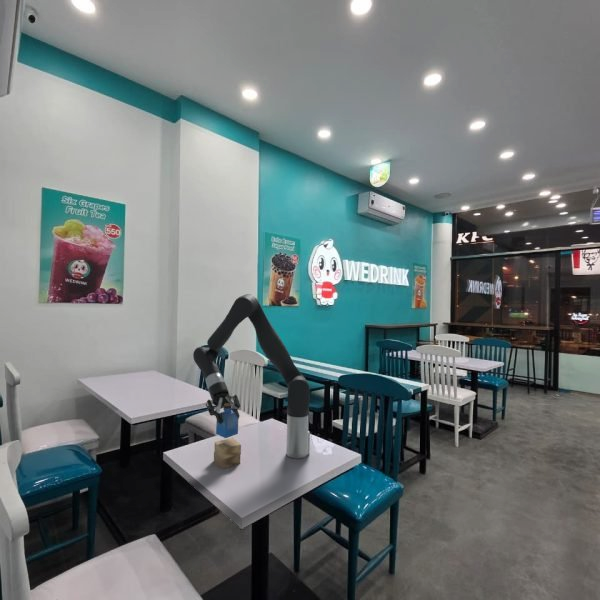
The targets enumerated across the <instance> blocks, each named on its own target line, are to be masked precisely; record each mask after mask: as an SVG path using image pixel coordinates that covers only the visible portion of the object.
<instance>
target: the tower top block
mask: <svg viewBox="0 0 600 600" xmlns="http://www.w3.org/2000/svg"><path fill="white" fill-rule="evenodd" d="M214 452H215V453H216V454H217V455H218V456H219V457H220V458H221V459H226V458H229V457H233V456H237V455H240V456H241V454H242V444H241V443H240V442H238V440H236V439H235V438H234V437H229V438H225V439H222V440H217V441H214V451H213V453H214Z"/></svg>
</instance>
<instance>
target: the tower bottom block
mask: <svg viewBox="0 0 600 600" xmlns="http://www.w3.org/2000/svg"><path fill="white" fill-rule="evenodd" d="M213 462H214V463H215V464H216V465H217V466H218V467H219V468H220V469H221V470H224V469H227V468H231V467H233V465H234V466H237V465H240V464H241V455H237V456H233V457H229V458H226V459H221V458H220V457H219V456H218V455H217V454H216V453H215V452H214V451H213ZM236 464H237V465H236ZM226 467H227V468H226Z"/></svg>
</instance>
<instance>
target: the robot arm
mask: <svg viewBox="0 0 600 600" xmlns="http://www.w3.org/2000/svg"><path fill="white" fill-rule="evenodd" d="M247 318H248V320H249V321H250V323H251V324H252V326H253V328H254V330H255V334H256V339H257V342H258V345H259V347H260V349H261V351H262V352H263V353H264V355H265V357H266V358H267V359H268V361H269V362H270V363H271V364H272V365H273V367H275V369H276V370H277V371H278V372H279V373H280V375H281V377H282V378H283V380H284V383H285V384H286V387H287V407H286V408H287V409H286V411H287V412H286V414H287V415H286V416H287V417H286V452H285V453H286V456H287V457H288V458H290V459H303V458H306V457H307V456H308V455H310V454H311V453H310V449H311V446H310V445H311V443H310V442H311V432H310V431H309V414H310V413H309V410H310V397H311V396H310V392H311V391H310V390H311V389H310V385H309V382H308V380H307V379H306V378H305V376H304V375H303V373H302V372H301V371H300V370H299V369H298V368H297V366H296V364H295V363H294V362H293V359H292V358H291V355H290V353H289V351H288V349H287V347H286V345H285V344H284V342H283V341H282V339H281V338H280V336H279V334H278V333H277V331H276V330H275V328H274V327H273V325H272V324H271V321H270V320H269V319H268V317H267V316H266V313H265V311H264V309H263V308H262V305H261V303H260V302H259V299H258V298H257V297H256V296H255V295H253V294H251V293H247V294H243V295H241V296H239V297H237V298H236V299H235V300H234V302H233V304H232V306H231V307H230V309H229V311H228V313H227V314H226V316H225V318H224V319H223V321H222V322H221V323H220V325H218V327H216V329H215V330H214V332H213V333H212V334H211V335H210V336H209V338H208V339H207V340H206V343H207V346H208V347H205V346H204V347H203V346H199V347H198V346H197V347H196V348H195V349H194V350H193V354H192V355H193V356H192V357H193V361H194V363H195V365H197V367H198V369H200V371H201V372H202V374H203V378H204V380H205V383H206V388H207V390H208V393H209V396H210V398H211V399H207V401H206V402H205V406H206V408H207V411H208V413H209V416H215V418H216V421H217V422H218V423H219V424H222V423H223V419H222V416H221V414H220V413H221V409H224V404H226V403H231V404H232V406H231V407H232V410H231V411H232V412H235V414H236V416H237V417H238V420H239V419H240V413H239V409H240V408H241V403H240V400H239V396H238V395H237V394H235V395H230V393H229V392H230V391H229V389H228V387H227V384H226V382H225V379H224V377H223V375H222V373H221V371H220V368H219V366H218V364H216V363H215V362H216V361H217V359H218V356H219V354H220V353H221V349H222V348H223V347H224V346H225V345H226V343H227V342H228V341H229V339H230V338H231V337H232V335H233V333H234V331H235V329H236V328H237V327H238V326H239V324H240V323H242V322H243V321H245V319H247ZM213 405H214V406H215V408H214V406H213Z"/></svg>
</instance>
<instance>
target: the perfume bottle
mask: <svg viewBox="0 0 600 600" xmlns="http://www.w3.org/2000/svg"><path fill="white" fill-rule="evenodd" d="M231 406H232V404H231V403H226V404H224V408H222V409H223V411H220V412H219V413H220V414H221V416H222V419H223V423H222V424H219V423H218V422H217V420H216V422H215V423H216V426H215V430H216V431H215V434H216V435H218V436H219V437H222V438H224V439H229V438H232V437H233V436H237V435H239V419H238V417H237V416H236V414H235V412H233V411H232V407H231Z"/></svg>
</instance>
